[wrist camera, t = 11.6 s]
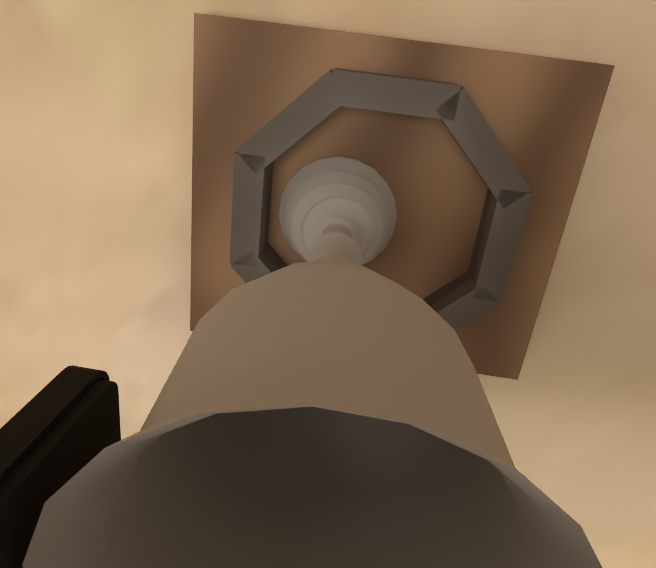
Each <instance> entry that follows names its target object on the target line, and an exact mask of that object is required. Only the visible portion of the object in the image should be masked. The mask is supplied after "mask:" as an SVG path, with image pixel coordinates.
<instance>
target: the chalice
mask: <svg viewBox="0 0 656 568" xmlns="http://www.w3.org/2000/svg"><path fill="white" fill-rule="evenodd" d="M279 218H280V223H281V228H282V233H283V235H284V236H285V238H286V240H287V242H288V243H289V245H290V247H291V248H292V249H293V250H294V251H295V252H296V253H297V254H298V255H299V256H300V257H301V258H303V259H304V260H305V261H307V262H300V263H294V264H291V265H289V266H286V267H284V268H281V269H279V270H276V271H274V272H272V273H269V274H267V275H265V276H262V277H260V278H258V279H255V280H253V281H251V282H248V283H246V284H243V285H241V286H239V287H236V288H234V289H232V290H230V291H229V292H228V293H227V294H226V295H225V296H224V297H223V298H222V299H221V300H220V301H219V302H218V303H217V304H216V305H215V306H213V307H212V308H211V309H210V310H209V311H208V312H207V313H206V314H205V315H204V316H203V317H202V318H201V319H200V320H199V321H198V323H197V325H196V327H195V329H194V331H193V333H192V335H191V336H190V338H189V340H188V342H187V344H186V346H185V348H184V349H183V351H182V353H181V355H180V357H179V359H178V361H177V363H176V364H175V366H174V368H173V370H172V372H171V374H170V376H169V378H168V379H167V381H166V383H165V385H164V387H163V389H162V391H161V393H160V394H159V396H158V398H157V400H156V402H155V404H154V406H153V408H152V409H151V411H150V413H149V415H148V417H147V419H146V421H145V423H144V424H143V426H142V428H141V430H140V432H138V433H135V434H133V435H131V436H129V437H127V438H125V439H123V440H121V441H118V442H116V443H114V444H112V445H110V446H108V447H106V448H104V449H103V450H102V451H101V452H100V453H99V454H98V455H96V456H95V457H94V458H93V459H92V460H91V461H90V462H89V463H88V464H87V465H85V466H84V467H83V468H82V469H81V470H80V471H79V472H78V473H77V474H76V475H74V476H73V477H72V478H71V479H70V480H69V481H68V482H67V483H66V484H64V485H63V486H62V487H61V488H60V489H59V490H58V491H57V492H56V493H55V494H53V495H52V496H51V497H50V498H49V499H48V500H47V501H46V502H45V503H44V506H43V509H42V512H41V515H40V517H39V520H38V523H37V526H36V528H35V531H34V534H33V537H32V539H31V542H30V545H29V548H28V551H27V553H26V556H25V559H24V562H23V564H22V566H23V568H602V566H601V564H600V562H599V561H598V559H597V557H596V555H595V553H594V551H593V549H592V547H591V545H590V543H589V541H588V539H587V537H586V535H585V533H584V531H583V529H582V527H581V526H580V525H579V524H578V523H577V522H576V521H575V520H573V519H572V518H571V517H570V516H569V515H568V514H567V513H566V512H564V511H563V510H562V509H561V508H560V507H559V506H558V505H557V504H555V503H554V502H553V501H552V500H551V499H550V498H549V497H547V496H546V495H545V494H544V493H543V492H542V491H541V490H540V489H538V488H537V487H536V486H535V485H534V484H533V483H532V482H530V481H529V480H528V479H527V478H526V477H525V476H524V475H523V474H521V473H520V472H519V471H518V470H517V469H516V468H515V466H514V464H513V461H512V459H511V456H510V454H509V451H508V449H507V447H506V444H505V442H504V439H503V437H502V434H501V432H500V429H499V427H498V424H497V422H496V419H495V417H494V414H493V412H492V409H491V407H490V405H489V402H488V400H487V397H486V395H485V392H484V390H483V387H482V385H481V382H480V380H479V377H478V375H477V372H476V370H475V368H474V366H473V364H472V362H471V360H470V358H469V356H468V354H467V352H466V350H465V348H464V347H463V345H462V343H461V341H460V339H459V337H458V335H457V333H456V331H455V330H454V329H453V328H452V327H451V326H450V325H449V324H448V323H447V322H446V321H445V320H444V319H443V318H442V317H441V316H440V315H438V314H437V313H436V312H435V311H434V310H433V309H432V308H431V307H430V306H429V305H428V304H427V303H426V302H425V301H424V300H423V299H422V298H420V297H418V296H417V295H415V294H414V293H412V292H410V291H409V290H407V289H406V288H404V287H402V286H401V285H399V284H398V283H396V282H394V281H392V280H390V279H388V278H386V277H384V276H382V275H380V274H378V273H376V272H374V271H372V270H370V269H368V268H367V267H365V266H361V265H363V264H366V263H368V262H370V261H372V260H373V259H374V258H375V257H376V256H377V255H378V254H380V253H381V252H382V251H383V250H384V249H385V247H386V246H387V244H388V242H389V240H390V239H391V237H392V235H393V233H394V228H395V224H396V219H397V213H396V204H395V198H394V196H393V194H392V192H391V190H390V188H389V185H388V183H387V182H386V181H385V180H384V179H383V178H382V177H381V175H380V174H379V173H378V172H377V171H376V170H375V169H374V168H372V167H370V166H368V165H366V164H364V163H362V162H360V161H358V160H355V159H349V158H344V157H332V158H325V159H319V160H317V161H315V162H313V163H311V164H309V165H307V166H305V167H303V168H301V169H300V170H299V171H298V173H297V174H296V175H295V176H294V177H293V178H292V179H291V180H290V181H289V182H288V184H287V186H286V188H285V190H284V192H283V195H282V197H281V202H280V210H279Z"/></svg>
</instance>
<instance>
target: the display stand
mask: <svg viewBox="0 0 656 568" xmlns="http://www.w3.org/2000/svg"><path fill="white" fill-rule="evenodd" d="M613 69H614V65H606V64H598V63H590V62H582V61H574V60H566V59H558V58H550V57H542V56H534V55H526V54H518V53H510V52H502V51H494V50H486V49H478V48H470V47H462V46H454V45H446V44H438V43H430V42H422V41H414V40H406V39H398V38H390V37H382V36H374V35H366V34H358V33H350V32H342V31H334V30H326V29H318V28H310V27H302V26H294V25H286V24H278V23H270V22H262V21H254V20H246V19H238V18H230V17H222V16H214V15H206V14H198V13H194V76H193V156H192V235H191V315H190V331H194V329H195V327H196V325H197V323H198V321H199V320H200V319H201V318H202V317H203V316H204V315H205V314H206V313H207V312H208V311H209V310H210V309H211V308H212V307H213V306H215V305H216V304H217V303H218V302H219V301H220V300H221V299H222V298H223V297H224V296H225V295H226V294H227V293H228V292H229V291H230V290H232V289H234V288H236V287H239V286H241V285H243V284H246V283H248V282H251V281H253V280H255V279H258V278H260V277H262V276H265V275H267V274H269V273H272V272H274V271H276V270H279V269H281V268H284V267H286V266H289V265H291V264H294V263H300V262H307V261H305V260H304V259H303V258H301V257H300V256H299V255H298V254H297V253H296V252H295V251H294V250H293V249H292V248H291V247H290V245H289V243H288V242H287V240H286V238H285V236H284V235H283V233H282V228H281V223H280V218H279V210H280V202H281V197H282V195H283V192H284V190H285V188H286V186H287V184H288V182H289V181H290V180H291V179H292V178H293V177H294V176H295V175H296V174H297V173H298V171H299V170H300V169H301V168H303V167H305V166H307V165H309V164H311V163H313V162H315V161H317V160H319V159H325V158H332V157H344V158H349V159H355V160H358V161H360V162H362V163H364V164H366V165H368V166H370V167H372V168H374V169H375V170H376V171H377V172H378V173H379V174H380V175H381V177H382V178H383V179H384V180H385V181H386V182H387V183H388V185H389V188H390V190H391V192H392V194H393V196H394V198H395V204H396V213H397V219H396V224H395V228H394V233H393V235H392V237H391V239H390V240H389V242H388V244H387V246H386V247H385V249H384V250H383V251H382V252H381V253H380V254H378V255H377V256H376V257H375V258H374V259H373V260H372V261H370V262H368V263H366V264H363V265H361V266H365V267H367V268H368V269H370V270H372V271H374V272H376V273H378V274H380V275H382V276H384V277H386V278H388V279H390V280H392V281H394V282H396V283H398V284H399V285H401V286H402V287H404V288H406V289H407V290H409V291H410V292H412V293H414V294H415V295H417V296H418V297H420V298H422V299H423V300H424V301H425V302H426V303H427V304H428V305H429V306H430V307H431V308H432V309H433V310H434V311H435V312H436V313H437V314H438V315H440V316H441V317H442V318H443V319H444V320H445V321H446V322H447V323H448V324H449V325H450V326H451V327H452V328H453V329H454V330H455V331H456V333H457V335H458V337H459V339H460V341H461V343H462V345H463V347H464V348H465V350H466V352H467V354H468V356H469V358H470V360H471V362H472V364H473V366H474V368H475V370H476V372H477V374H484V375H490V376H497V377H504V378H510V379H517V380H518V377H519V373H520V370H521V367H522V364H523V360H524V357H525V354H526V351H527V347H528V344H529V341H530V338H531V334H532V331H533V328H534V325H535V322H536V318H537V315H538V312H539V309H540V305H541V302H542V299H543V296H544V292H545V289H546V286H547V283H548V279H549V276H550V273H551V270H552V266H553V263H554V260H555V257H556V253H557V250H558V247H559V244H560V241H561V237H562V234H563V231H564V228H565V224H566V221H567V218H568V215H569V211H570V208H571V205H572V202H573V198H574V195H575V192H576V189H577V185H578V182H579V179H580V176H581V173H582V169H583V166H584V163H585V160H586V156H587V153H588V150H589V147H590V143H591V140H592V137H593V134H594V130H595V127H596V124H597V121H598V117H599V114H600V111H601V108H602V104H603V101H604V98H605V95H606V92H607V88H608V85H609V82H610V79H611V75H612V72H613Z"/></svg>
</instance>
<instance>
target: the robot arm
mask: <svg viewBox="0 0 656 568" xmlns="http://www.w3.org/2000/svg"><path fill="white" fill-rule="evenodd" d="M118 441H121V434H120V414H119V395H118V386H117V384H116V383H115V382H112V381H110V380H109V376H108V374H107V372H105V371H101V370H95V369H89V368H84V367H78V366H68V367H67V368H65V369H64V370H63V371H61V372H60V373H59V374H58V375H57V376H56V377H55V378H54V379H53V380H52V381H51V382H50V383H49V384H48V385H47V386H45V387H44V388H43V389H42V390H41V391H40V392H39V393H38V394H37V395H36V396H35V397H34V398H33V399H32V400H31V401H30V402H28V403H27V404H26V405H25V406H24V407H23V408H22V409H21V410H20V411H19V412H18V413H17V414H16V415H15V416H14V417H12V418H11V419H10V420H9V421H8V422H7V423H6V424H5V425H4V426H3V427H2V428H1V429H0V568H23V566H22V564H23V562H24V559H25V556H26V553H27V551H28V548H29V545H30V542H31V539H32V537H33V534H34V531H35V528H36V526H37V523H38V520H39V517H40V515H41V512H42V509H43V506H44V503H45V502H46V501H47V500H48V499H49V498H50V497H51V496H52V495H53V494H55V493H56V492H57V491H58V490H59V489H60V488H61V487H62V486H63V485H64V484H66V483H67V482H68V481H69V480H70V479H71V478H72V477H73V476H74V475H76V474H77V473H78V472H79V471H80V470H81V469H82V468H83V467H84V466H85V465H87V464H88V463H89V462H90V461H91V460H92V459H93V458H94V457H95V456H96V455H98V454H99V453H100V452H101V451H102V450H103V449H104V448H106V447H108V446H110V445H112V444H114V443H116V442H118Z"/></svg>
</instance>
